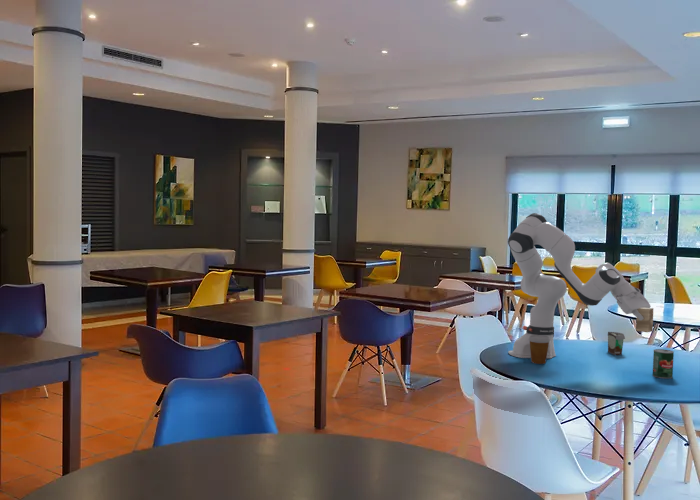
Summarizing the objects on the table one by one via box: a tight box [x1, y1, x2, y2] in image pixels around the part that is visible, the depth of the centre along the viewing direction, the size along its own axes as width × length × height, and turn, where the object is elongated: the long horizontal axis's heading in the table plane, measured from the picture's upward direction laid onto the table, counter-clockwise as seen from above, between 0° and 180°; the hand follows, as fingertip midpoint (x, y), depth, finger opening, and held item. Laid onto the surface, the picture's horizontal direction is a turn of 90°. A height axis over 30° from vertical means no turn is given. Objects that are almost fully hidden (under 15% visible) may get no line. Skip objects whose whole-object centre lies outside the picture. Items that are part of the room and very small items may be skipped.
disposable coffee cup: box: [529, 335, 550, 365], centre depth 318 cm, size 10×10×12 cm
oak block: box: [635, 307, 654, 333], centre depth 299 cm, size 5×5×10 cm
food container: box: [607, 331, 626, 356], centre depth 345 cm, size 12×6×10 cm, turn 179°
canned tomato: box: [652, 348, 675, 380], centre depth 295 cm, size 8×8×11 cm
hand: (646, 318), depth 299 cm, fingers closed on oak block, 5 cm apart
